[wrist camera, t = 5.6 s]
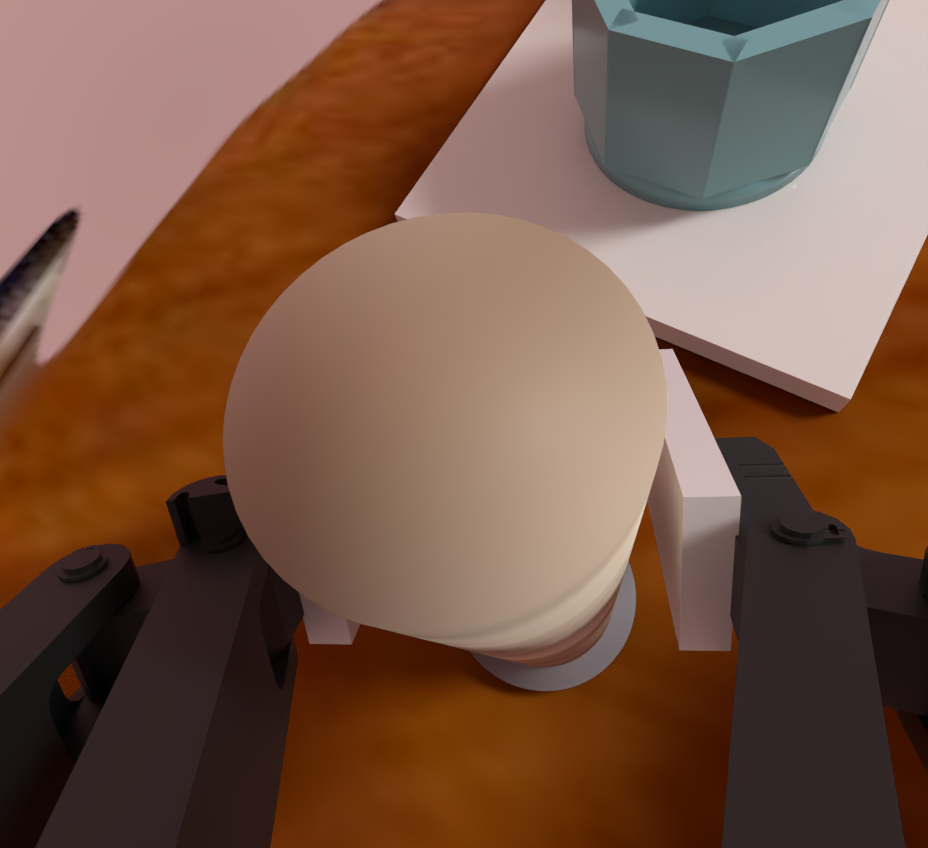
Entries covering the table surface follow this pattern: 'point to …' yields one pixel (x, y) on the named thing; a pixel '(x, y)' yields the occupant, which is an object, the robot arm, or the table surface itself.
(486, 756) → the table surface
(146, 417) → the table surface
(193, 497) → the robot arm
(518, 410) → the pillar candle on dish
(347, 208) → the table surface
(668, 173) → the octagonal cup on tile
